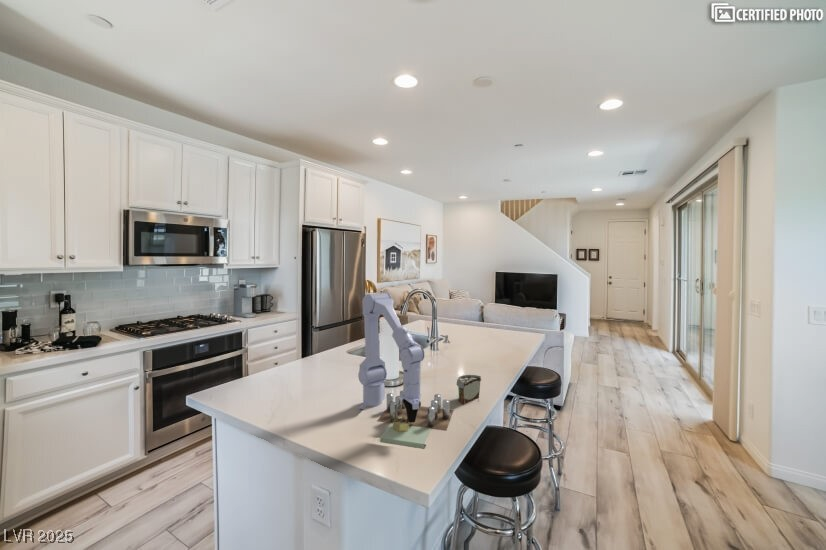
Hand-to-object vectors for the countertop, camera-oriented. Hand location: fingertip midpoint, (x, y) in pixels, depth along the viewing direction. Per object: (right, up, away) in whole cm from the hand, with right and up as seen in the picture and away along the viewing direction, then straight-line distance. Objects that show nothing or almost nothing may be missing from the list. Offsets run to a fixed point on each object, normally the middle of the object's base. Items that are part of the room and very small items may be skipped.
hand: (411, 421), depth 118 cm
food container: (+21, -2, +22) cm, 31 cm away
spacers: (+2, -1, +7) cm, 7 cm away
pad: (-2, -3, -6) cm, 7 cm away
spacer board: (+2, -2, +7) cm, 7 cm away
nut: (-3, -1, -3) cm, 4 cm away
